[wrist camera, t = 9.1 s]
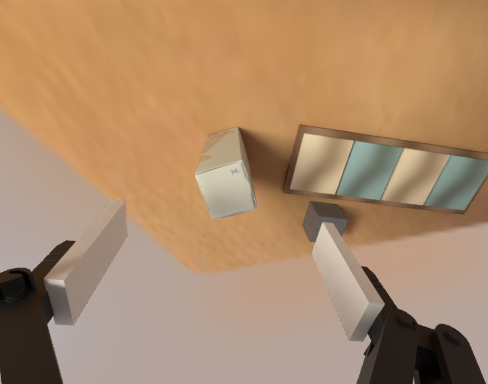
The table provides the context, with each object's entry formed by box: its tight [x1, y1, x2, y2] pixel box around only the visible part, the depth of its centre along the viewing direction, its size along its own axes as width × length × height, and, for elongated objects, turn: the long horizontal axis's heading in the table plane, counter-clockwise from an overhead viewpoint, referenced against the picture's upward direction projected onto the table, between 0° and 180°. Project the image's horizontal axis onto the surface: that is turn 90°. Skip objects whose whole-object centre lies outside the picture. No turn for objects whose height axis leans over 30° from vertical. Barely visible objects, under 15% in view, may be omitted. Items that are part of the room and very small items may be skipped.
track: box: [283, 124, 488, 214], centre depth 33 cm, size 27×9×1 cm, turn 81°
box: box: [195, 127, 257, 220], centre depth 27 cm, size 5×4×11 cm
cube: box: [303, 201, 348, 242], centre depth 35 cm, size 4×4×4 cm
